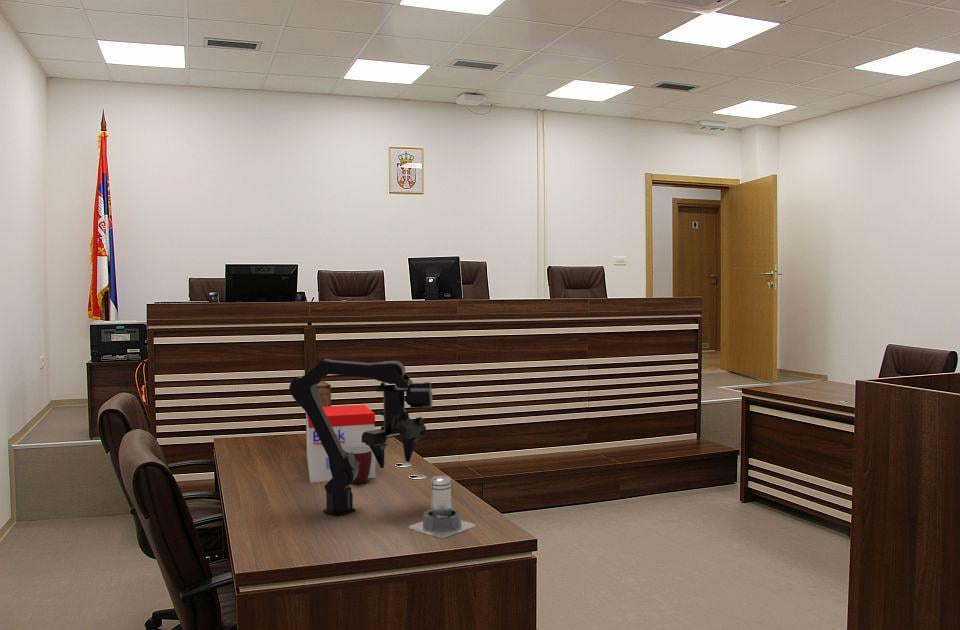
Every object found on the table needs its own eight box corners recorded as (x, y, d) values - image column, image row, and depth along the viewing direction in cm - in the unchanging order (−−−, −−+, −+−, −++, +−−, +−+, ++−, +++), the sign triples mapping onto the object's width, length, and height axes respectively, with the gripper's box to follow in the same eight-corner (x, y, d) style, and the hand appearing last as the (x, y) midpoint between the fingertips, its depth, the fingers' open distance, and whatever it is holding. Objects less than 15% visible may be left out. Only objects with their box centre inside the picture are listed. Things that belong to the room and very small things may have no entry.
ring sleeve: (441, 538, 183) (441, 524, 182) (408, 528, 191) (408, 514, 191) (475, 526, 191) (475, 512, 191) (442, 517, 200) (442, 503, 199)
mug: (374, 486, 230) (373, 454, 230) (347, 488, 228) (347, 456, 228) (370, 477, 241) (370, 447, 240) (345, 479, 239) (344, 448, 238)
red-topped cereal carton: (310, 483, 236) (308, 417, 235) (307, 458, 270) (305, 400, 269) (376, 478, 241) (375, 413, 240) (365, 454, 275) (364, 397, 274)
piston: (436, 529, 188) (435, 481, 187) (428, 523, 192) (427, 477, 192) (454, 525, 190) (453, 479, 190) (446, 520, 195) (445, 474, 194)
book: (333, 452, 277) (331, 385, 276) (318, 454, 275) (316, 386, 274) (322, 444, 292) (321, 380, 291) (308, 445, 290) (307, 381, 289)
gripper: (387, 415, 191) (388, 476, 192) (439, 406, 205) (440, 462, 206) (359, 411, 199) (360, 469, 199) (412, 402, 212) (412, 456, 213)
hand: (395, 464), depth 204 cm, fingers open, 9 cm apart
